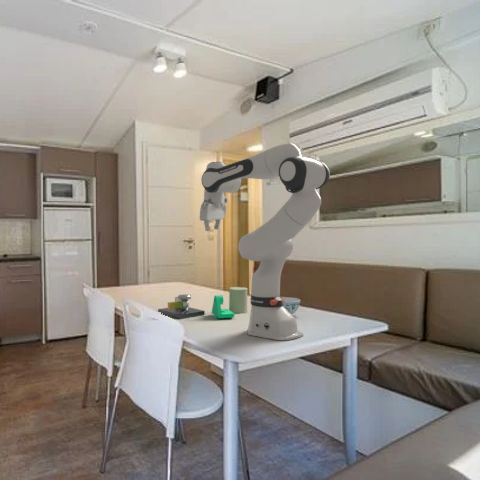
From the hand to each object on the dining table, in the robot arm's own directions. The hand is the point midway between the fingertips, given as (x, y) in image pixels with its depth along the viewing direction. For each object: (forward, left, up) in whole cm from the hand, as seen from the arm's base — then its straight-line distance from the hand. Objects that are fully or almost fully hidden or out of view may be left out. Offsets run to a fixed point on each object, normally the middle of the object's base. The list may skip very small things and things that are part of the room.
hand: (212, 230), depth 185 cm
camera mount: (0, -7, -40) cm, 41 cm away
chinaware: (-17, -30, -40) cm, 53 cm away
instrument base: (+18, +4, -40) cm, 44 cm away
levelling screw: (+15, +7, -38) cm, 41 cm away
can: (+5, -21, -40) cm, 46 cm away
